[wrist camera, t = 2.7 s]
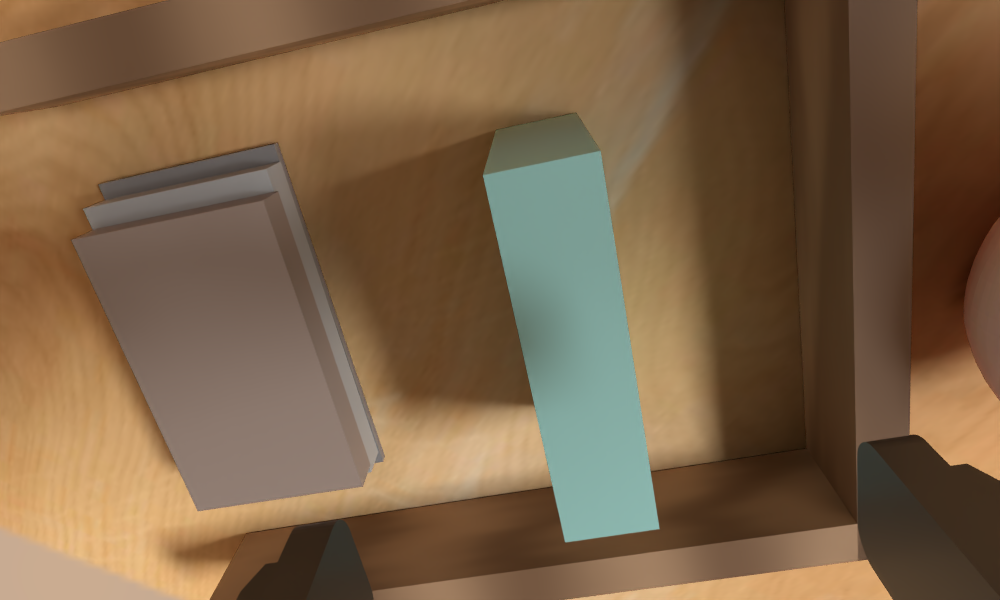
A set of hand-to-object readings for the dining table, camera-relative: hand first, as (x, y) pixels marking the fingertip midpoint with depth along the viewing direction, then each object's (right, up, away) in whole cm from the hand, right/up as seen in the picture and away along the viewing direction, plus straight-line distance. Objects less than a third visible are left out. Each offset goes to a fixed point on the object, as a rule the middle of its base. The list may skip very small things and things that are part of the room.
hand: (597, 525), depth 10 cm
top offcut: (-10, +2, +12) cm, 15 cm away
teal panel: (+1, +4, +12) cm, 13 cm away
